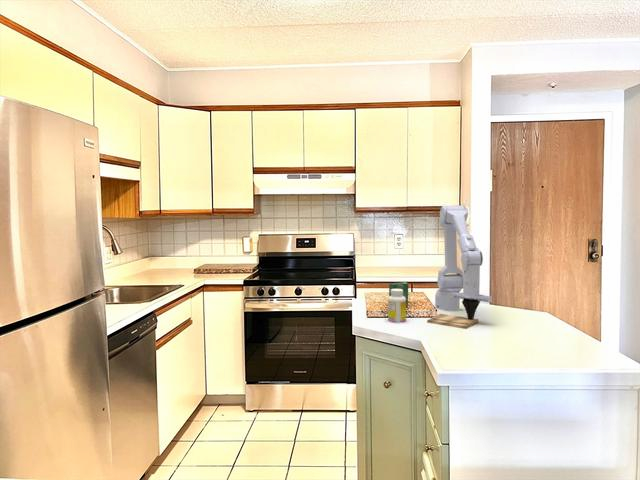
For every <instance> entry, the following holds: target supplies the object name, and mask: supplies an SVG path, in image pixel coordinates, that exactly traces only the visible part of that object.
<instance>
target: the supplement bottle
mask: <svg viewBox="0 0 640 480" xmlns="http://www.w3.org/2000/svg"><path fill="white" fill-rule="evenodd" d="M387 312H388V314H387V316H388V317H387V318H388V322H390V323H395V324H396V323H399V324H401V323H405V322H406V321H407V312H406V298H405V297H404V296H403V290H402V289H391V296H390V297H389V296H388V298H387Z"/></svg>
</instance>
